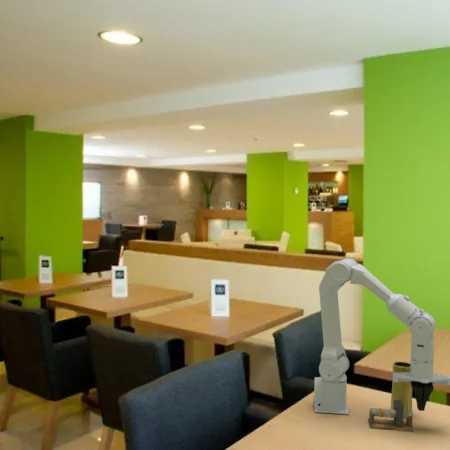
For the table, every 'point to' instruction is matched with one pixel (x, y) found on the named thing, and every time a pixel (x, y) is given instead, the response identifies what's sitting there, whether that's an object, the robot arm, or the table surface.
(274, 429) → the table surface
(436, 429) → the table surface
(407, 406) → the vase
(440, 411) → the table surface
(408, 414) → the pipe stand
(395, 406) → the dark grey square frame
